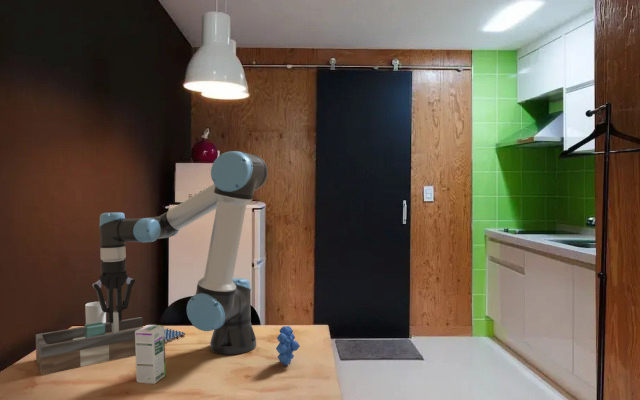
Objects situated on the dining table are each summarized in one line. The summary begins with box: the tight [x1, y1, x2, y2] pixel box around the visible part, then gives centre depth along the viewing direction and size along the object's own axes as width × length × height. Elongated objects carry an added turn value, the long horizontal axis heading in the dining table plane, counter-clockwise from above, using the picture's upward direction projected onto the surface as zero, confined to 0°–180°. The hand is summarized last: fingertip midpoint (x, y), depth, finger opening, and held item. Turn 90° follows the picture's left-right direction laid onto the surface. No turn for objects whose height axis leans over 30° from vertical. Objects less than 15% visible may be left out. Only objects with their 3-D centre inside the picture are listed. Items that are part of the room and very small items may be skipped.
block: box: [84, 322, 105, 338], centre depth 147 cm, size 5×5×5 cm
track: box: [35, 316, 144, 376], centre depth 147 cm, size 15×32×8 cm, turn 127°
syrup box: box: [135, 324, 167, 385], centre depth 128 cm, size 6×6×14 cm
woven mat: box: [164, 328, 186, 344], centre depth 165 cm, size 10×11×2 cm
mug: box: [84, 301, 108, 324], centre depth 166 cm, size 10×7×12 cm, turn 85°
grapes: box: [275, 325, 301, 366], centre depth 138 cm, size 12×7×12 cm, turn 166°
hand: (115, 332), depth 150 cm, fingers closed
